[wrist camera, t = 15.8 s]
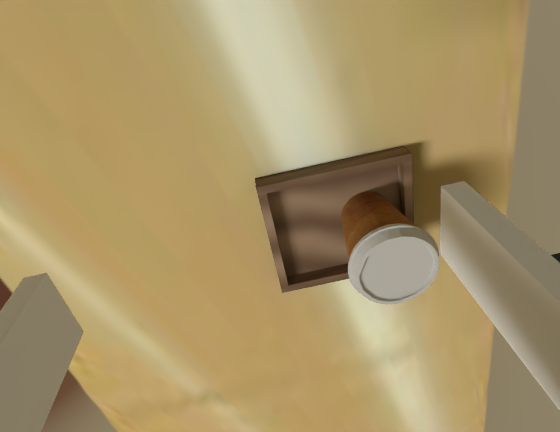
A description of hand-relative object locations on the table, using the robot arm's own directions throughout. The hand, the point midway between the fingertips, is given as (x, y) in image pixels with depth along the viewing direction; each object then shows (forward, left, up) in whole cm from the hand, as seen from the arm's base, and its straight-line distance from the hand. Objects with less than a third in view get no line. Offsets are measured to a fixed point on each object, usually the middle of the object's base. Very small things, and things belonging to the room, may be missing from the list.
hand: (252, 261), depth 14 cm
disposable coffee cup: (+20, +11, -32) cm, 39 cm away
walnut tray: (+20, +8, -33) cm, 39 cm away
